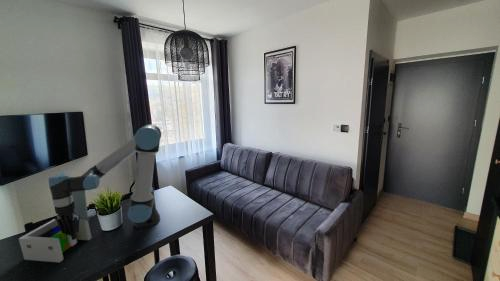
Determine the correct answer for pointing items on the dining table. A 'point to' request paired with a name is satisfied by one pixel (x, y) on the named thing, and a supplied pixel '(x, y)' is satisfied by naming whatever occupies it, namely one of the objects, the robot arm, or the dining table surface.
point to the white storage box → (49, 242)
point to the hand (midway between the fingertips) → (73, 244)
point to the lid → (80, 204)
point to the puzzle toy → (62, 237)
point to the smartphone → (91, 212)
